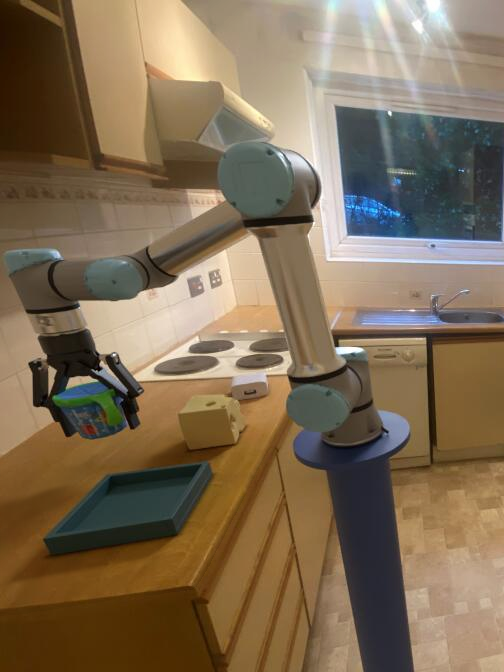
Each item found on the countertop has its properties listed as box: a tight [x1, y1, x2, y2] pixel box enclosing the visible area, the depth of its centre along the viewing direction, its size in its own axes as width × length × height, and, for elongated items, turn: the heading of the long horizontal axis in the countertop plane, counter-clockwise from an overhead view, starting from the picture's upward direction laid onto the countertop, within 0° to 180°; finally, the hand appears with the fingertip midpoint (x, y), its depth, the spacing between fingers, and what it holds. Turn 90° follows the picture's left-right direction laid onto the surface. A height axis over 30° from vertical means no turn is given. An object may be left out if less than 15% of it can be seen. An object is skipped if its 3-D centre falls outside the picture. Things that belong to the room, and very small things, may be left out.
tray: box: [42, 460, 214, 556], centre depth 82 cm, size 18×19×4 cm
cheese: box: [177, 393, 247, 451], centre depth 106 cm, size 10×11×10 cm
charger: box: [230, 371, 269, 401], centre depth 135 cm, size 5×9×15 cm
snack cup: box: [52, 380, 128, 441], centre depth 91 cm, size 16×10×10 cm
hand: (104, 430), depth 93 cm, fingers closed on snack cup, 11 cm apart
